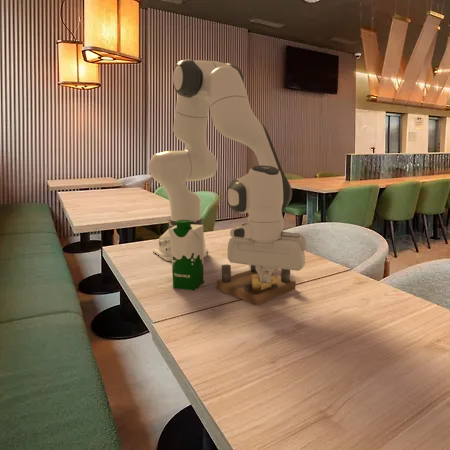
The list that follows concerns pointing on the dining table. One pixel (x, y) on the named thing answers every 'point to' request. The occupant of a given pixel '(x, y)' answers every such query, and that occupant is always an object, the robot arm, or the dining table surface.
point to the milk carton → (187, 255)
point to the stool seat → (242, 285)
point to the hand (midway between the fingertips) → (265, 282)
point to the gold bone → (258, 286)
